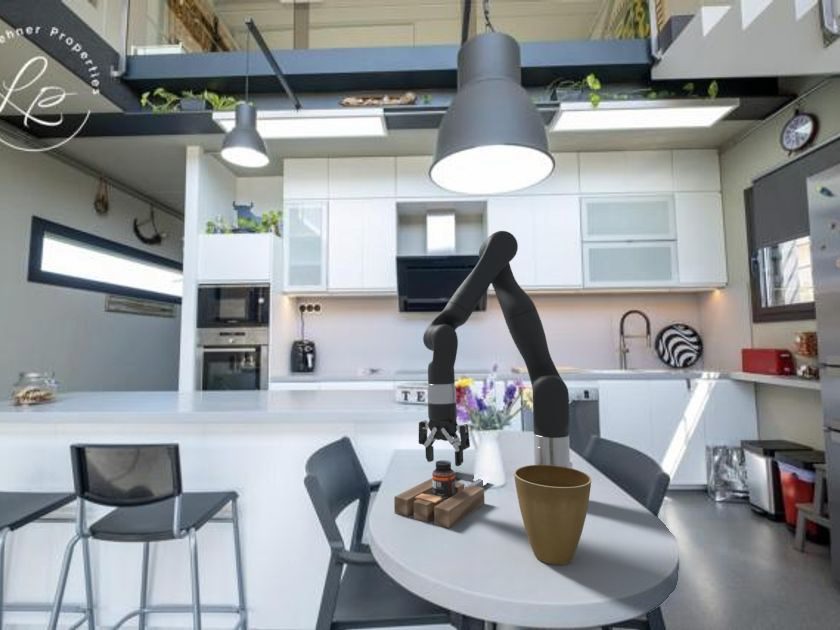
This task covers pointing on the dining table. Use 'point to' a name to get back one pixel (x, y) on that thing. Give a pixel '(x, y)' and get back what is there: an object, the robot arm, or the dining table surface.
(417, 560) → the dining table surface
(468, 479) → the cradle
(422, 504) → the socket board
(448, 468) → the supplement bottle
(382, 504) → the dining table surface
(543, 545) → the plant pot
